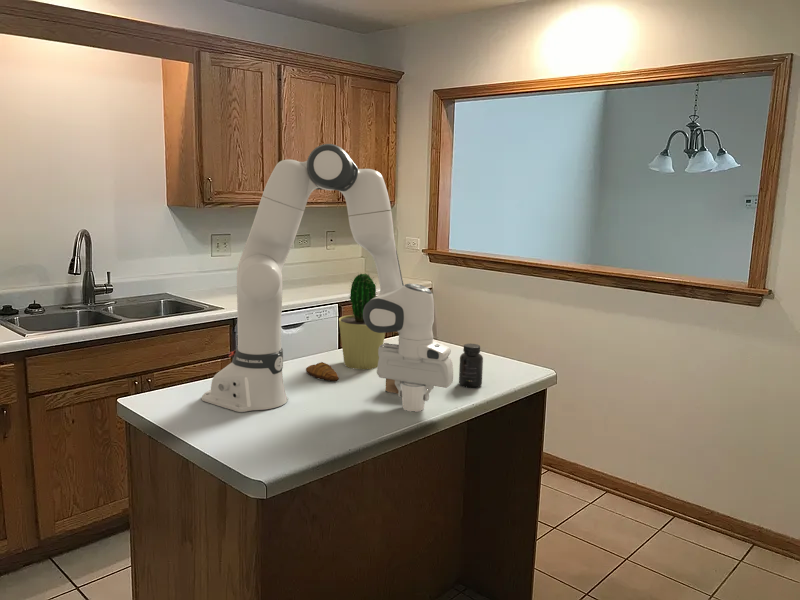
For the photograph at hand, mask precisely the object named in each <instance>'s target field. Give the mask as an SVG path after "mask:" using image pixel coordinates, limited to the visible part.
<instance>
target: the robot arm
mask: <svg viewBox="0 0 800 600" xmlns="http://www.w3.org/2000/svg"><path fill="white" fill-rule="evenodd" d="M358 167H359V166H357V165H356V163H355V162H354V161H353V159H352V158H351V157H350V155H349V154H348V152H346V151H345V150H344V149H343V148H342V147H340V146H338V145H336V144H334V143H325V144H323V143H322V144H320V145H318V146H316V147H315V148H314V149H312V151H311V152H310V153H309V156H308V158H307V160H305V161H298V160H296V159H288V158H287V159H282V160H280V161H279V162H277V164H276V165H275V166H274V168H273V170H272V172H271V174H270V176H269V178H268V180H267V182H266V184H265V187H264V189H263V192H262V196H261V198H260V201H259V203H258V207H257V209H256V213H255V216H254V219H253V223H252V225H251V228H250V231H249V235H248V237H247V239H246V241H245V245H244V246H243V250H242V253H241V257H240V259H239V261H238V262H239V263H238V264H237V265H238V266H237V267H236V268H237V270H236V297H237V299H236V302H237V303H236V304H237V305H236V306H237V309H236V311H237V317H236V318H237V348H236V349H234V350H233V351H229V355H228V357H229V358H230V357H233V358H232V359H231V362H230V363H229V364H227V365H226V366H225V367H223V368H222V369H221V370H220V371H218V372H217V373H215V374H214V376H213V378H212V380H211V384H210V385H211V386H210V389H208V390H207V391H206V392H204V393H203V394H202V396H201V401H203V402H206V403H208V404H212V405H214V406H215V405H216V406H218V407H222V408H225V409H228V410H231V411H235V412H237V413H246V412H250V411H262V410H270V409H274V408H278V407H282V406H283V405H285V404H286V403H287V402H288V399H289V398H288V396H287V394H286V393H287V392H286V389H285V383H284V378H283V368H284V350H283V347H282V311H283V284H284V283H283V282H284V281H283V274H282V271H283V268H284V265H285V263H286V261H287V259H288V255H289V253H290V250H291V248H292V246H293V244H294V242H295V239H296V236H297V233H298V230H299V228H300V224H301V221H302V218H303V215H304V213H305V211H306V210H305V209H306V207H307V203H308V200H309V198H310V196H311V194H312V193H313V191H315V190H324V191H338V192H339V193H341V194H342V196H343V197H344V199H345V203H346V209H347V216H348V217H347V218H348V223H349V228H350V232H351V234H352V237H353V240H354V241H355V243H356V244H357V245H359V247H361V248H363V249H364V250H366V251H367V252H368V253H369V254H370V256H372V258H373V261H374V264H375V268H376V272H377V273H376V274H377V278H378V282H379V288H380V289H379V293H378V294H377V295H376V297H375V298H373V299H371V300H370V301H369V302H368V303H367V304H366V305H365V307H364V310H363V319H364V322H365V324H366V325H367V327H368V328H369V329H370V330H372V331H374V332H377V333H385V334H387V333H395V332H397V333H398V343H397V344H396V343H387V342H385V343H384V342H383V344H382V345H380V347H379V349H378V356H379V361H378V367H376V375H377V376H378V377H379V378H381V379H385V380H386V379H392V380H395V385H396V387H397V389H398V390H399V392H398V393H397V394H398V397H399V398H402V386H401V382H402V381H405V382H411V383H417V384H424V385H426V389H428V390H426V393H425V394H424V396H423V400H424V401H425V402H428V401H429V399H430V394H431V392H432V390H433V389H434V387H436V388H437V387H438V388H445V389H446V388H449V387H450V386H451V385H452V384H453V382H454V367H453V366H454V365H453V360H452V358H450V354H451V348H450V347H449V346H447V345H446V344H443V343H441V342H439V341H437V340H435V339H434V334H433V324H434V322H435V300H434V294H433V292H432V289H430V288H428V287H426V286H424V285H422V284H418V283H405V284H404V280H403V276H402V271H401V270H402V269H401V267H400V260H399V256H398V255H399V254H398V251H397V246H396V240H395V239H396V238H395V231H394V223H393V214H392V207H391V201H390V196H389V193H388V189H387V185H386V182H385V180H384V177H383V175H382V173H380V172H379V171H378V170H375V169H372V168H358ZM382 346H383V347H382Z"/></svg>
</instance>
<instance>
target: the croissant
mask: <svg viewBox="0 0 800 600" xmlns="http://www.w3.org/2000/svg"><path fill="white" fill-rule="evenodd" d="M305 372H306V374H308V375H309V376H311V377H312V378H314V379H317V380H322V381H324V382H325V381H326V382H334V383H335V382H339V380H340V379H339V375H338V372H336V370H335V369H333V368H332V366H331V364H328V363H326V362H322V361H321V362H318V363H316V364H311V365H309V366H307V367H305Z"/></svg>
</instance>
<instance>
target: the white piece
mask: <svg viewBox="0 0 800 600" xmlns="http://www.w3.org/2000/svg"><path fill="white" fill-rule="evenodd" d="M401 386H402V397H401V398H402V399H401V400H402V409H403V408H404V409H405V410H404V409H403V410H404V411H406V410H407V411H406V412H411V411H415V412H414V413H417V412H421V410H422V411H423V410H424V409H425V403H426V401H424V400H423V396H424V394H425V393H426V392H427V389H426V385H424V384H417V383H411V382H405V381H402V382H401Z"/></svg>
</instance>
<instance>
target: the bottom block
mask: <svg viewBox="0 0 800 600" xmlns="http://www.w3.org/2000/svg"><path fill="white" fill-rule="evenodd" d="M384 391H385V392H386V391H387V393H392V392H393V394H398V392H399V390H398V389H397V387H396V385H395V380H392V379H386V378H385V390H384Z"/></svg>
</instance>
